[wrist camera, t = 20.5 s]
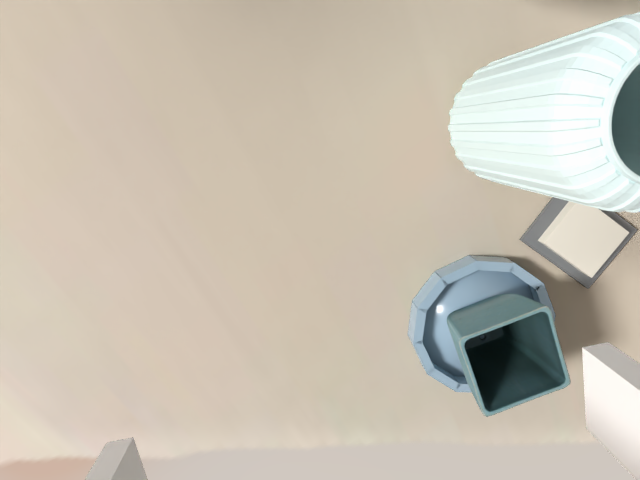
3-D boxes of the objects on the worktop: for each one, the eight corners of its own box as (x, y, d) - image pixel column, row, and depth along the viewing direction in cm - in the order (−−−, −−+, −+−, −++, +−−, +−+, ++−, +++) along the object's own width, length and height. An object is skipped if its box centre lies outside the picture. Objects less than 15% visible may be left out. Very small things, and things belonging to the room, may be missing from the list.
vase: (520, 194, 47) (709, 248, 26) (422, 156, 46) (535, 179, 24) (571, 87, 45) (825, 48, 23) (469, 43, 44) (640, -43, 22)
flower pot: (504, 273, 49) (550, 304, 40) (525, 342, 51) (573, 386, 42) (428, 302, 49) (457, 339, 40) (452, 369, 51) (484, 418, 42)
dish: (382, 339, 50) (386, 349, 48) (466, 229, 48) (474, 234, 46) (485, 403, 53) (493, 415, 51) (569, 302, 51) (581, 310, 49)
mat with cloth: (519, 239, 49) (526, 243, 47) (568, 177, 47) (577, 179, 46) (586, 287, 50) (595, 292, 49) (634, 229, 49) (645, 232, 47)
